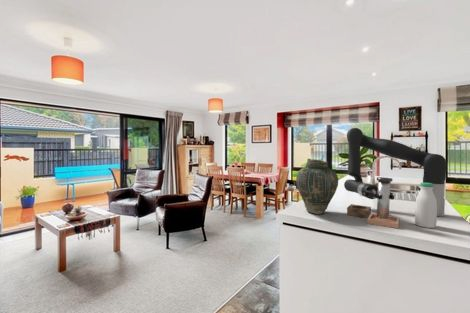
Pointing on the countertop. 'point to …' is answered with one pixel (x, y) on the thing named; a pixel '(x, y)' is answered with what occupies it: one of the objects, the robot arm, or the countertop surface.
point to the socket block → (359, 211)
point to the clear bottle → (383, 197)
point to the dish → (383, 221)
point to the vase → (316, 185)
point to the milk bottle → (426, 207)
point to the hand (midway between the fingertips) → (386, 197)
